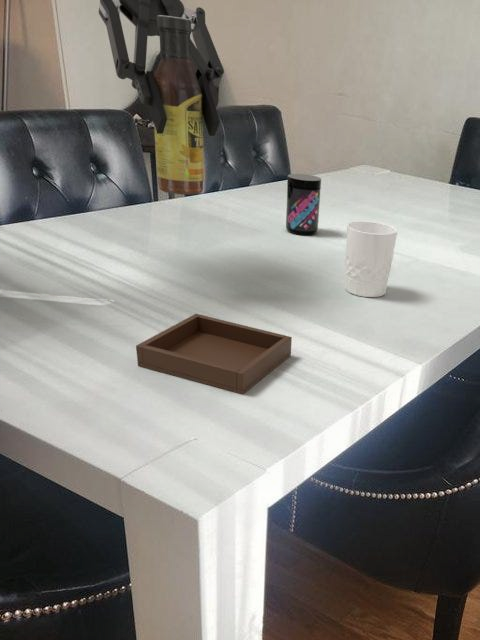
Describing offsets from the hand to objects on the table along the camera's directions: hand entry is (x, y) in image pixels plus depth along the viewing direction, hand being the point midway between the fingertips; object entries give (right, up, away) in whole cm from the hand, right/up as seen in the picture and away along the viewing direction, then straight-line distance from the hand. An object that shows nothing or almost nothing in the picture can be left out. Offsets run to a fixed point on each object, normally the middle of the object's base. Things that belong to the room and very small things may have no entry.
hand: (188, 127), depth 83 cm
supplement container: (+10, +6, +52) cm, 53 cm away
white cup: (+23, -14, +24) cm, 36 cm away
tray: (+5, -31, -5) cm, 31 cm away
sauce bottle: (-3, -5, +7) cm, 9 cm away
